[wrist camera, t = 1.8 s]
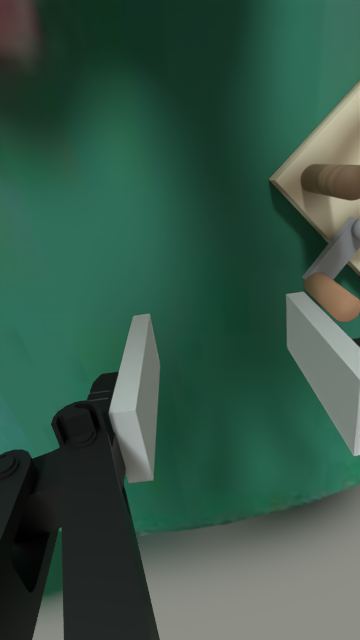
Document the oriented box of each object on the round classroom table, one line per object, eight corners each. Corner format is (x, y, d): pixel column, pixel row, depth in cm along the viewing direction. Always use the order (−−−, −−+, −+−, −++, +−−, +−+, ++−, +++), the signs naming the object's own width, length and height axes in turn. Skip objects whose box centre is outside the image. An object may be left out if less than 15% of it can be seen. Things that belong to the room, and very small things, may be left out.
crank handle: (354, 210, 33) (403, 223, 26) (372, 223, 34) (425, 240, 27) (296, 284, 36) (326, 313, 29) (313, 295, 37) (347, 326, 30)
